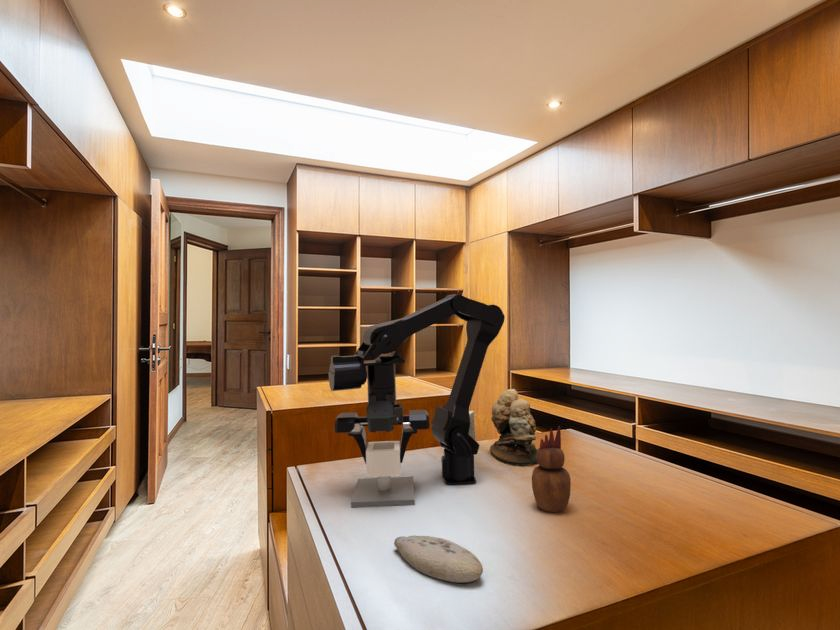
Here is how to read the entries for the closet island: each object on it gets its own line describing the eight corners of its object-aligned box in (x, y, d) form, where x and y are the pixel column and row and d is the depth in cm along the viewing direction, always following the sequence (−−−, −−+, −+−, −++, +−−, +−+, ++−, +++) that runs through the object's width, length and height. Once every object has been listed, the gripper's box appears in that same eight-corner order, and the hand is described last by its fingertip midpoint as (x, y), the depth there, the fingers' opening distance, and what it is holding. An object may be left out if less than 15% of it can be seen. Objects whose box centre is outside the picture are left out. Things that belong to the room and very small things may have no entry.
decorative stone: (407, 542, 70) (407, 521, 70) (494, 575, 60) (494, 550, 60) (382, 560, 65) (381, 537, 65) (472, 598, 55) (471, 571, 55)
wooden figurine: (571, 503, 81) (568, 423, 81) (571, 517, 76) (568, 431, 76) (534, 499, 83) (531, 421, 83) (531, 513, 78) (528, 429, 78)
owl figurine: (555, 465, 102) (553, 393, 102) (508, 471, 100) (505, 396, 100) (522, 443, 120) (519, 381, 120) (481, 448, 117) (479, 384, 117)
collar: (400, 464, 92) (400, 440, 92) (400, 475, 85) (399, 450, 85) (369, 465, 92) (368, 441, 92) (366, 477, 85) (365, 451, 85)
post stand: (413, 481, 95) (412, 453, 95) (414, 504, 83) (413, 473, 83) (358, 483, 94) (357, 455, 94) (351, 507, 82) (350, 475, 82)
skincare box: (460, 446, 118) (459, 409, 119) (476, 448, 117) (475, 410, 117) (453, 452, 114) (452, 413, 114) (469, 454, 112) (468, 414, 112)
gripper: (328, 395, 80) (331, 480, 80) (429, 391, 81) (432, 475, 81) (337, 385, 91) (340, 460, 91) (426, 382, 92) (429, 456, 92)
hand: (384, 463), depth 89 cm, fingers closed on collar, 7 cm apart
